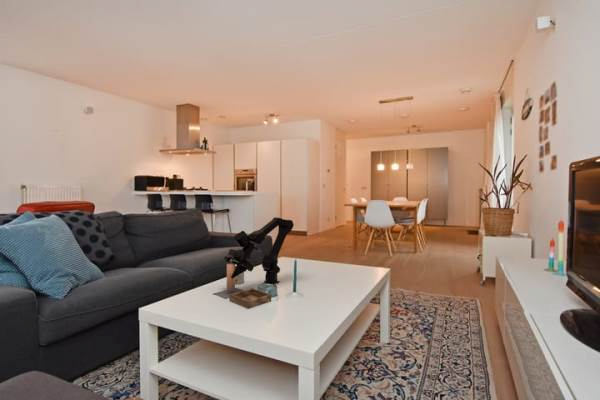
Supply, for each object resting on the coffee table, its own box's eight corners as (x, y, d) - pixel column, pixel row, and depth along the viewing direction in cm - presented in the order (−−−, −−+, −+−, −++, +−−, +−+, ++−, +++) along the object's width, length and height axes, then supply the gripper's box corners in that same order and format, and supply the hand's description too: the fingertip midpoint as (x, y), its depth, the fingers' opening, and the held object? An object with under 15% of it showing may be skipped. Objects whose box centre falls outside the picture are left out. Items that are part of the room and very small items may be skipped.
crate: (252, 295, 162) (252, 288, 162) (271, 302, 152) (271, 294, 152) (229, 301, 152) (229, 294, 151) (247, 309, 142) (247, 302, 142)
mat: (235, 288, 172) (235, 287, 172) (248, 293, 164) (248, 292, 164) (212, 294, 161) (212, 293, 161) (225, 300, 154) (225, 298, 154)
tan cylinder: (234, 286, 165) (234, 262, 165) (235, 289, 161) (235, 264, 161) (226, 287, 164) (226, 263, 164) (227, 289, 160) (227, 265, 160)
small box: (227, 282, 183) (227, 264, 182) (233, 280, 188) (233, 262, 187) (238, 284, 179) (238, 266, 179) (244, 282, 184) (244, 264, 183)
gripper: (226, 240, 171) (208, 264, 163) (249, 245, 159) (231, 271, 151) (238, 253, 177) (221, 277, 169) (260, 258, 165) (244, 284, 157)
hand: (228, 277), depth 162 cm, fingers closed on tan cylinder, 4 cm apart
